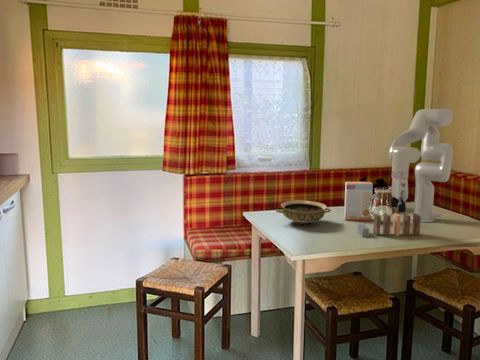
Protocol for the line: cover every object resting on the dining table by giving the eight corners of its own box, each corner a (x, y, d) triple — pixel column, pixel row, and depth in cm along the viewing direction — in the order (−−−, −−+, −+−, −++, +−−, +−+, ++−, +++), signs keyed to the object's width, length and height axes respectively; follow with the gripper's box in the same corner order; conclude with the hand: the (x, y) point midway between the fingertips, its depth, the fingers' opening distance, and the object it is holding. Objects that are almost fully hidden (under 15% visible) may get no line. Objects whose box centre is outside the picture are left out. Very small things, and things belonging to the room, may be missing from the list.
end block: (364, 232, 221) (364, 224, 220) (368, 236, 213) (369, 228, 212) (357, 232, 221) (358, 224, 220) (362, 236, 213) (362, 228, 212)
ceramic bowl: (279, 230, 223) (279, 211, 221) (271, 218, 247) (271, 200, 245) (337, 229, 226) (338, 209, 224) (324, 217, 250) (324, 199, 248)
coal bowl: (396, 212, 262) (398, 180, 258) (365, 213, 258) (366, 181, 254) (379, 204, 281) (381, 175, 278) (349, 205, 277) (351, 176, 274)
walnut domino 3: (405, 233, 220) (406, 213, 218) (409, 236, 215) (410, 215, 213) (402, 233, 220) (403, 213, 218) (406, 236, 215) (407, 215, 213)
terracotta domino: (395, 233, 220) (397, 213, 218) (399, 236, 215) (400, 215, 213) (392, 233, 220) (393, 213, 218) (396, 236, 215) (397, 215, 213)
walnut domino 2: (386, 233, 220) (387, 213, 218) (389, 236, 215) (390, 215, 213) (382, 233, 220) (384, 213, 218) (386, 236, 215) (387, 215, 213)
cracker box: (369, 218, 247) (371, 181, 243) (371, 221, 241) (373, 183, 237) (343, 217, 248) (345, 180, 245) (345, 220, 242) (346, 182, 239)
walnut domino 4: (415, 233, 220) (416, 213, 218) (419, 236, 215) (420, 215, 213) (411, 233, 220) (413, 213, 218) (415, 236, 215) (417, 215, 213)
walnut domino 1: (376, 233, 219) (377, 213, 218) (379, 236, 215) (380, 215, 213) (373, 233, 219) (374, 213, 218) (376, 236, 215) (377, 215, 213)
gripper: (414, 178, 204) (412, 214, 207) (401, 171, 221) (399, 205, 224) (398, 178, 204) (396, 214, 207) (386, 171, 221) (384, 205, 224)
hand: (397, 209), depth 215 cm, fingers open, 9 cm apart
